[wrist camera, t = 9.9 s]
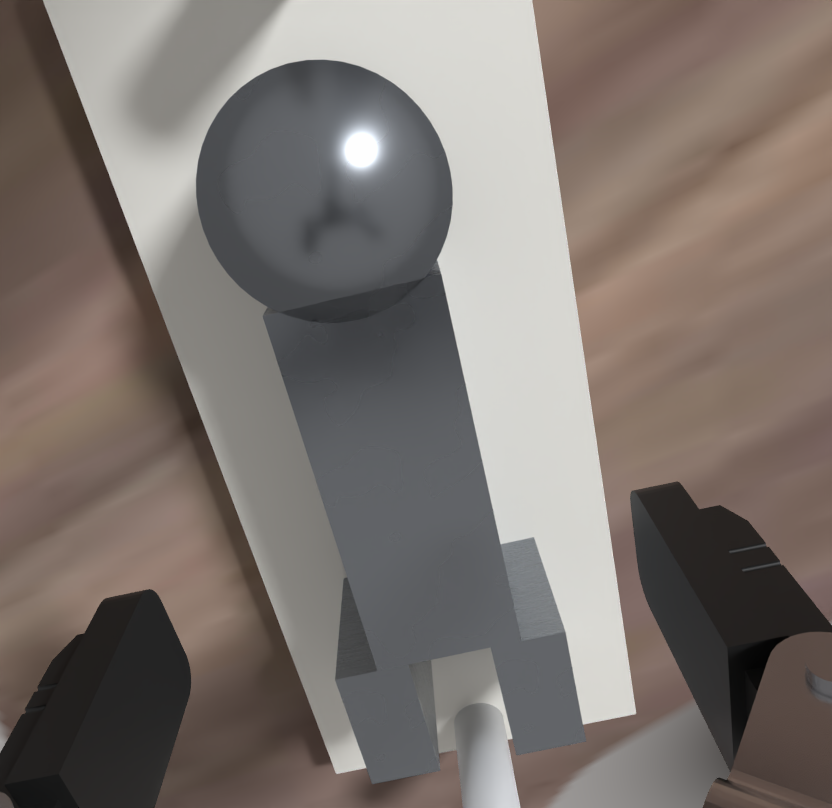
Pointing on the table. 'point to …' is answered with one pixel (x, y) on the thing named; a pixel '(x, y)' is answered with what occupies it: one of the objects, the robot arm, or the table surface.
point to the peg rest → (466, 295)
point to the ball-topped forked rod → (381, 400)
